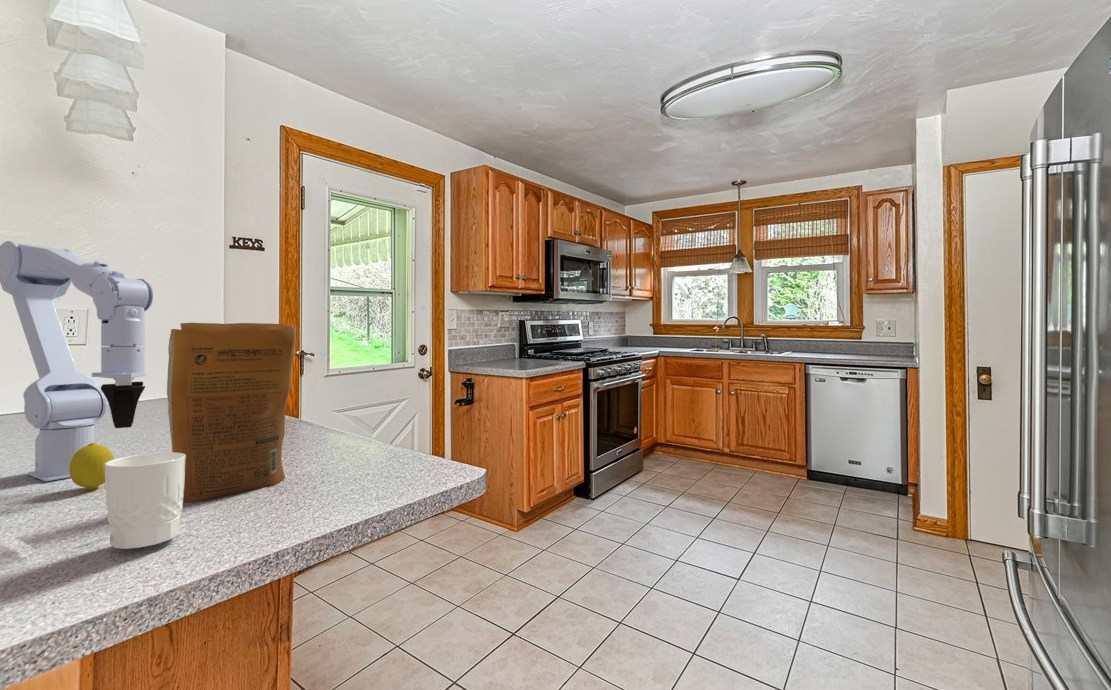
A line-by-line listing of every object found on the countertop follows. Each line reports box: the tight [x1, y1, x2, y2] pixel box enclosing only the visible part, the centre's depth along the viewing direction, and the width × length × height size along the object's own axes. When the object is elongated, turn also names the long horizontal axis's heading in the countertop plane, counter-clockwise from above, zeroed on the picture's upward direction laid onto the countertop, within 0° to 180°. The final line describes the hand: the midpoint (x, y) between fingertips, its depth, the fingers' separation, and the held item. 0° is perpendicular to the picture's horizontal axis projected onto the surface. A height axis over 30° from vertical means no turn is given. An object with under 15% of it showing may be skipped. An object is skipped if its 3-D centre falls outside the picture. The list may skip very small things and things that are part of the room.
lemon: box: [69, 442, 115, 491], centre depth 83 cm, size 6×6×8 cm
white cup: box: [104, 451, 186, 550], centre depth 63 cm, size 8×8×10 cm
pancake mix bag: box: [166, 322, 297, 503], centre depth 82 cm, size 7×19×28 cm, turn 140°
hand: (123, 424), depth 87 cm, fingers open, 7 cm apart
